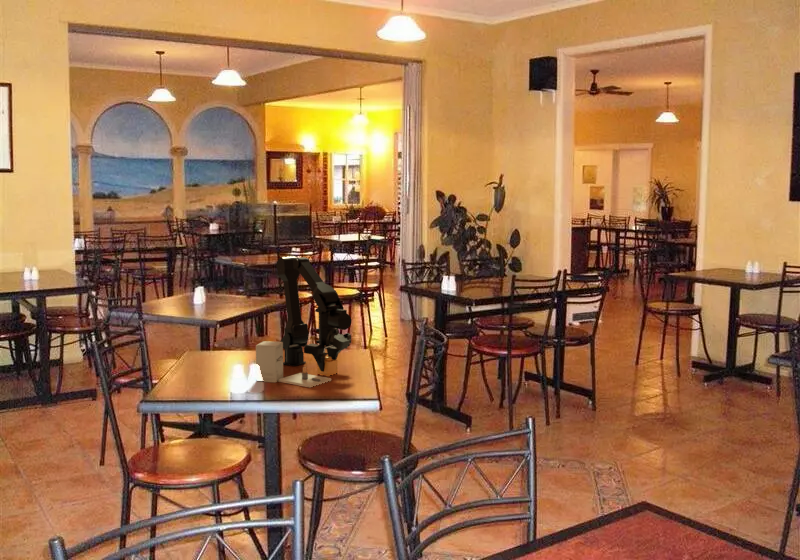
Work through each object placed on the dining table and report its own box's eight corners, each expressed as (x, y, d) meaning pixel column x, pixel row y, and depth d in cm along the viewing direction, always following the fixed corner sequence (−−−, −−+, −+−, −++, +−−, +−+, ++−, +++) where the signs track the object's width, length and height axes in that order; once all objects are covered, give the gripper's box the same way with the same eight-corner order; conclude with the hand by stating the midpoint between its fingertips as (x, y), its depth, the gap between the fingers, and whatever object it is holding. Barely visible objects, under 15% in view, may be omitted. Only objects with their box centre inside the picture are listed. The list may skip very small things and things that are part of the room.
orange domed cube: (317, 374, 288) (317, 357, 287) (326, 371, 292) (326, 355, 291) (328, 376, 285) (328, 359, 284) (337, 373, 289) (337, 356, 289)
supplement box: (276, 382, 277) (275, 345, 275) (255, 381, 278) (254, 344, 277) (284, 377, 284) (283, 341, 282) (263, 376, 285) (263, 340, 284)
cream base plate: (278, 381, 278) (278, 368, 278) (300, 374, 287) (299, 362, 287) (310, 387, 270) (310, 373, 270) (331, 380, 279) (331, 367, 279)
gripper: (327, 332, 274) (328, 378, 276) (361, 324, 290) (361, 367, 292) (302, 329, 281) (303, 373, 283) (336, 321, 296) (337, 363, 298)
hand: (327, 369), depth 288 cm, fingers closed on orange domed cube, 5 cm apart
